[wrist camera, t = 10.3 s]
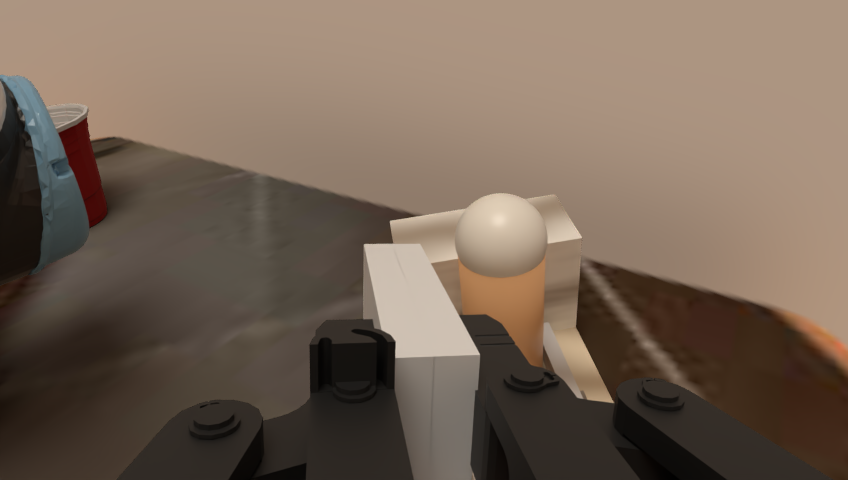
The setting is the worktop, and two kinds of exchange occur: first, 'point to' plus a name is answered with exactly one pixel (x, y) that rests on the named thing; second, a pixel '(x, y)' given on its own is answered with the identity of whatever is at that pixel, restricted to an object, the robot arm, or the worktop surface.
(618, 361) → the worktop surface
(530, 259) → the plunger knob
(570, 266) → the knob mount
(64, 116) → the plastic cup
